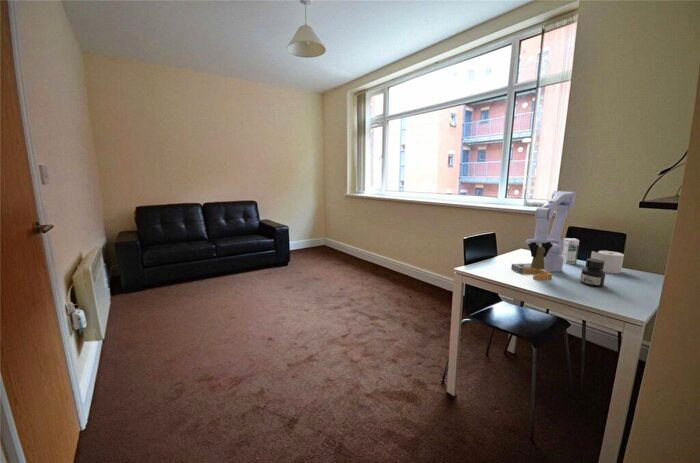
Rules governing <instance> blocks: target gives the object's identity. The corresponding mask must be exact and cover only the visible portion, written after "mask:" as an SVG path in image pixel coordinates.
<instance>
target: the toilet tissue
mask: <svg viewBox="0 0 700 463" xmlns="http://www.w3.org/2000/svg"><path fill="white" fill-rule="evenodd" d="M624 256H625V255H624V253H621V252H618V251H611V250H610V251H609V250H599V251H597V252H596V251H593V250H592V251H591V255H590V258H592V259H599V260H603V261H605V263H604V269H602V270H603V271H604V272H605V274H606V273H608V274H621V273H622V268H623V263H624V262H623V261H624Z"/></svg>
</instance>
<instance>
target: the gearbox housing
mask: <svg viewBox="0 0 700 463" xmlns="http://www.w3.org/2000/svg"><path fill="white" fill-rule="evenodd" d="M531 264H532V262H531V263H526V262H525V263H520V262H519V263H511V267H510V269H511V270H512V271H514V270H515V271H514V272H517V273H518V274H523V273H526V274H533V277H532V280H552V277H553V274H552V272H546V271H544V270H542V269H534V268H531Z"/></svg>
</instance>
